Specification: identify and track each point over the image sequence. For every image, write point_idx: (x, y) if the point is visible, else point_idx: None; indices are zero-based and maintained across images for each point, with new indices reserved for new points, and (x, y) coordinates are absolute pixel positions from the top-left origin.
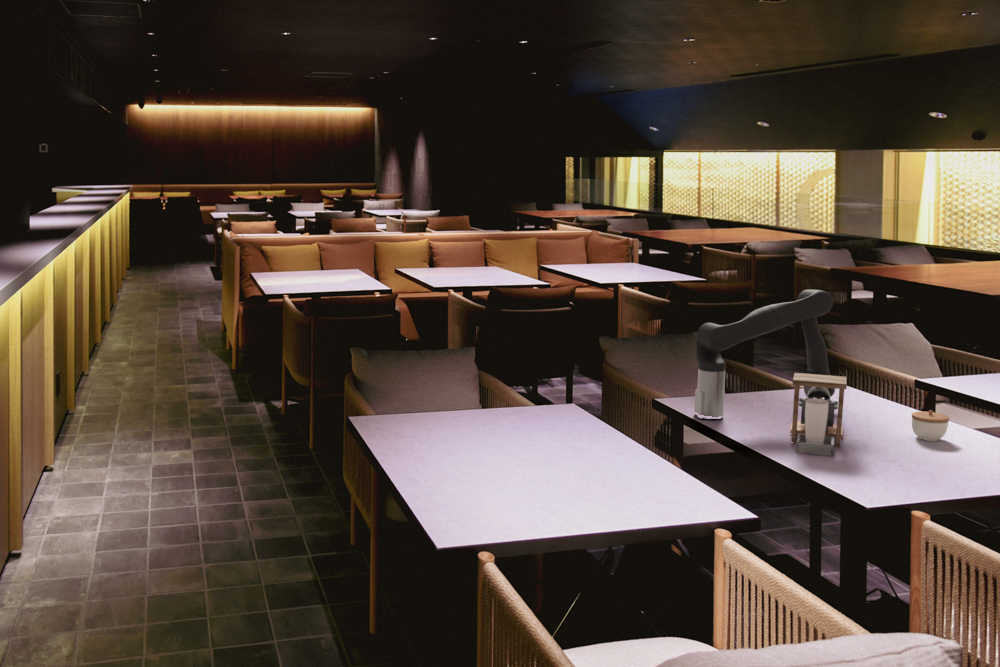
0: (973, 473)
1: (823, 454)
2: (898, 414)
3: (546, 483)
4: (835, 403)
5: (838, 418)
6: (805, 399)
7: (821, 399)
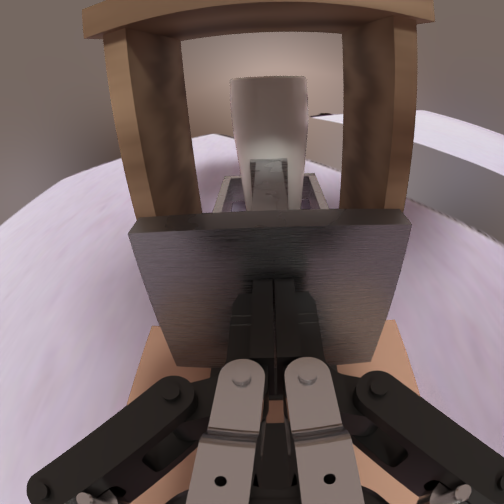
0: (19, 219)
1: None
2: None
3: (466, 134)
4: (65, 461)
5: (191, 153)
6: (456, 490)
7: (252, 77)
